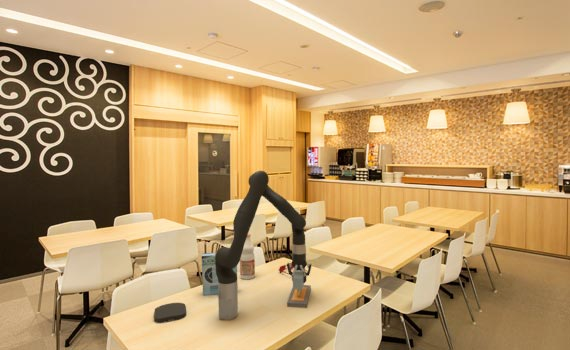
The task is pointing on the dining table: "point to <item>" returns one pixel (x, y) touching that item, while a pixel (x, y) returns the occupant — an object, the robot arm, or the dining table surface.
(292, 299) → the board
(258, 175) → the robot arm
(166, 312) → the media streaming box
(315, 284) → the dining table surface
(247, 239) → the fruit juice
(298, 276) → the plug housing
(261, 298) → the dining table surface
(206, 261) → the blue flat upright box
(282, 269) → the glasses
